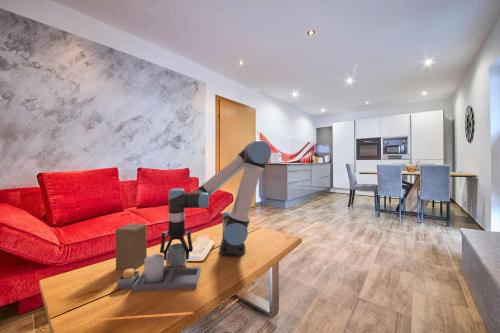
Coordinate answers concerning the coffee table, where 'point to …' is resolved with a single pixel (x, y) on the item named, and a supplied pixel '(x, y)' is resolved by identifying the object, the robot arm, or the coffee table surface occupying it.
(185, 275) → the grey divided tray
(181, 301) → the coffee table surface
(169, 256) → the cup
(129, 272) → the button
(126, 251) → the wooden block
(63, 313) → the coffee table surface
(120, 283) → the button housing
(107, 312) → the coffee table surface
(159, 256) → the billet
